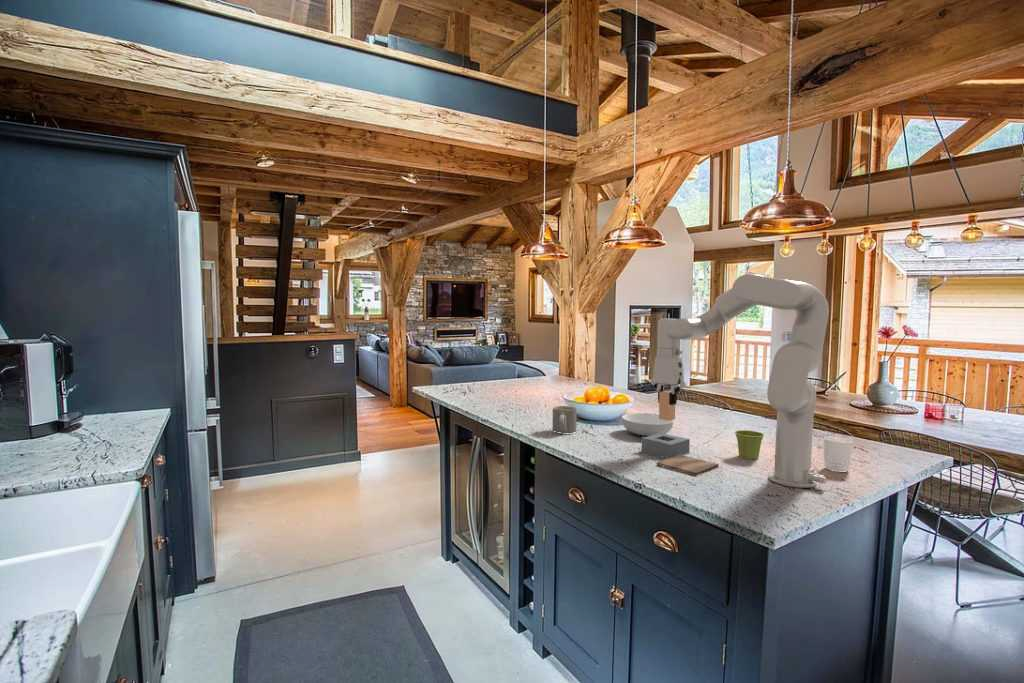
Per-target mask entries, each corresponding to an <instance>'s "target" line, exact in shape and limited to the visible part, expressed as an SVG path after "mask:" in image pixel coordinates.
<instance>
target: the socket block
mask: <svg viewBox="0 0 1024 683" xmlns="http://www.w3.org/2000/svg"><path fill="white" fill-rule="evenodd" d="M690 440H691V439H690V438H686V437H681V436H677V435H674V434H673V435H671V434H668V433H666V434H663V433H658V434H655V435H651V436H647V437H645V436H642V438H641V452H642V453H645V454H649V453H650V455H653V454H654V456H658V457H661V456H662V457H661V458H665V457H666V458H665V459H669V458H672V457H675V456H678V455H683V456H685V455H687V454H689V453H690Z"/></svg>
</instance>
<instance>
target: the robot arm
mask: <svg viewBox="0 0 1024 683" xmlns="http://www.w3.org/2000/svg"><path fill="white" fill-rule="evenodd" d="M757 305H758V306H762V307H768V308H773V309H777V310H781V311H782V310H784V311H795V313H796V314H795V318H794V322H793V324H792V326H791V328H792V329H791V335H790V338H789V342H788V343H786V344H783V345H782V346H780V347H779V348H778V349H777V351H776V352H775V354H774V357H773V361H772V366H771V370H770V374H769V375H770V376H769V381H768V386H767V391H766V392H767V394H766V395H767V396H766V397H767V401H768V403H769V404H770V406H771V407H772V408H773V409H774V410H776V411H777V416H776V428H775V446H774V447H775V449H774V450H775V452H774V453H775V455H774V471H771V472H768V479H769V480H770V481H772V482H774V483H776V484H779V485H781V486H786V487H792V488H799V489H800V488H801V489H805V488H806V489H807V488H814V487H816V486H817V483H819V484H824V485H825V484H827V483H826V482H827V477H825V475H824V474H818V473H816V472H815V468H814V467H812V447H813V445H812V444H813V430H814V429H813V428H814V414H815V409H816V404H817V391H816V387H815V386H814V385H813V383H812V382H811V381H810V380H808V377H809V373H812V372H814V371H815V370H816V369H817V368H818V367H819V365H820V363H821V357H822V352H823V347H824V343H825V337H826V332H827V327H828V322H829V316H830V314H829V313H830V308H829V303H828V300H827V298H826V296H825V294H824V293H823V292H822V291H821V290H820V289H818V288H817V287H816V286H814V285H812V284H810V283H807V282H804V281H798V280H789V279H784V278H783V279H782V278H775V277H769V276H764V275H762V274H756V273H744V274H742V275H740V276H738V277H737V278H736V279H735V280H734V282H733V284H732V287H731V288H729V289H727V290H726V291H725V292H723V293H721V294H720V295H718V296H717V297H716V298H715V300H714V305H713V306H712V307H711V308H710V309H708V310H707V311H706V312H703V314H700V315H698V316H696V317H682V318H667V317H666V318H660V319H658V321H657V346H656V347H657V349H656V350H657V351H656V352H657V353H656V356H655V359H654V364H653V372H652V378H651V379H650V380H649V383H650V385H652V386H653V387H654V389H655V391H656V392H657V401H658V404H659V391H665V390H664V389H665V386H667V385H668V386H670V391H671V393H672V394H670V405H675V406H676V404H677V401H678V393H680V391H681V390H682V389H684V388H686V387H687V384H686V383H685V379H684V378H685V375H684V372H685V371H684V364H683V359H682V356H680V355H682V354H683V351H682V350H681V349H680V341H681V340H684V341H687V340H688V341H690V340H699V339H702V338H703V339H704V338H705V337H707V336H709V335H711V334H712V333H714V332H716V331H717V330H719V329H721V328H722V327H724V326H725V325H727V323H729V322H730V321H731V320H732V319H735V318H736V317H737V316H739V315H740V314H743V313H744V312H746V311H748V310H749V309H751V308H754V307H756V306H757Z"/></svg>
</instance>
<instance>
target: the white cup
mask: <svg viewBox="0 0 1024 683" xmlns="http://www.w3.org/2000/svg"><path fill="white" fill-rule="evenodd" d="M852 451H853V440H851V439H850V438H846V437H841V436H833V435H832V436H829V435H828V436H823V466H824V467H825V468H827V469H830V470H834V471H848V470H849V471H850V464H851V461H852V460H851V457H852ZM825 468H824V469H825ZM827 469H826V470H827Z"/></svg>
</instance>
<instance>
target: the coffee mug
mask: <svg viewBox="0 0 1024 683" xmlns="http://www.w3.org/2000/svg"><path fill="white" fill-rule="evenodd" d="M552 430H553V431H556V432H561V433H573V432H576V433H577V407H574V406H569V405H557V406H554V407H552ZM553 431H552V432H553Z"/></svg>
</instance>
